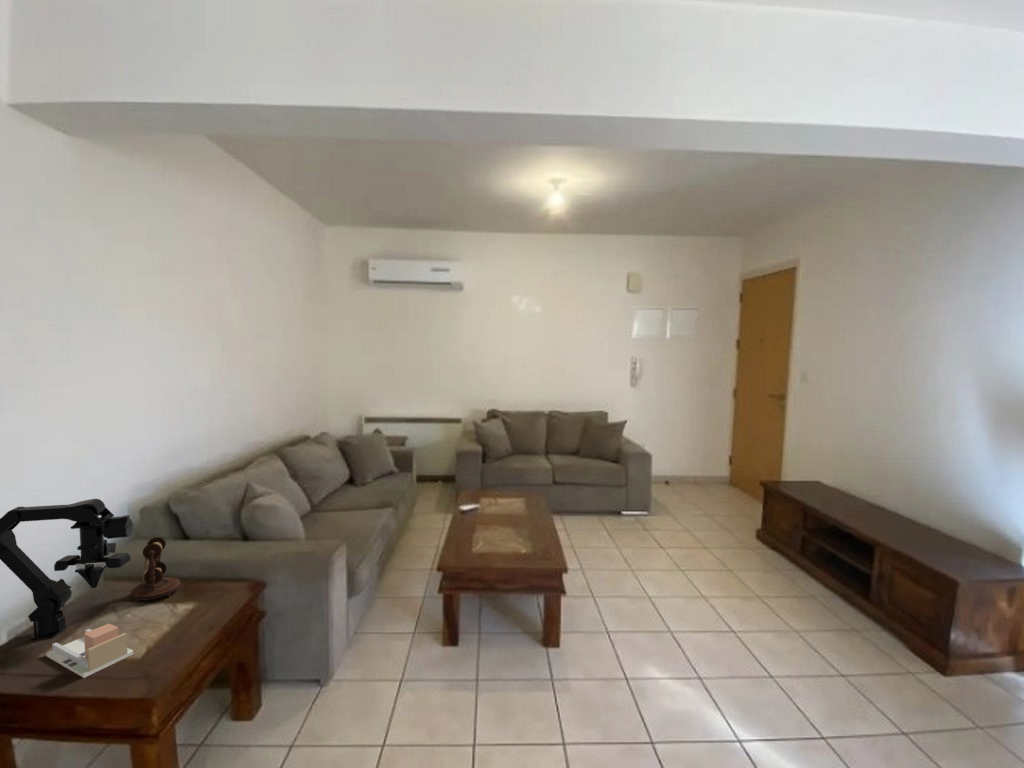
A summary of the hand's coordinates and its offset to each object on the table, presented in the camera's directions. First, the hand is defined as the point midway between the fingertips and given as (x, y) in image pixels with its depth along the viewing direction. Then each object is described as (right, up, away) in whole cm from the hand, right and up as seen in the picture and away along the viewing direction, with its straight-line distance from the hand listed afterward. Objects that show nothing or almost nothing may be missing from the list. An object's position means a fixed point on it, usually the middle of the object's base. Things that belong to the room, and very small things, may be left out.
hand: (94, 587), depth 159 cm
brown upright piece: (+4, -12, +23) cm, 26 cm away
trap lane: (+10, -14, -14) cm, 22 cm away
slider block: (+17, -13, -17) cm, 27 cm away
